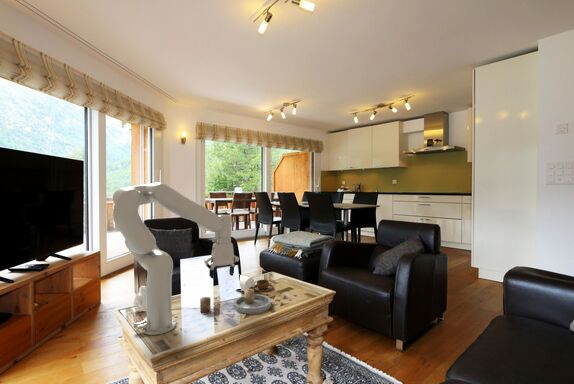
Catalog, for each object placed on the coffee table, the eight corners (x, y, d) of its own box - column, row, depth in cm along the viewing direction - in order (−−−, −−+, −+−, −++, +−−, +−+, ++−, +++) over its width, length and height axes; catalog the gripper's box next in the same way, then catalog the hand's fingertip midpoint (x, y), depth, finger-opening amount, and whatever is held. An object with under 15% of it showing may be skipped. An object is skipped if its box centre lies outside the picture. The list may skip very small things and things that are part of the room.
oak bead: (247, 305, 141) (247, 292, 141) (243, 302, 145) (242, 289, 145) (255, 302, 144) (255, 290, 144) (251, 300, 148) (251, 288, 148)
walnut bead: (202, 314, 132) (202, 301, 132) (199, 311, 136) (198, 298, 136) (212, 312, 135) (211, 299, 135) (208, 308, 139) (208, 296, 139)
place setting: (280, 291, 163) (280, 280, 163) (251, 300, 150) (251, 289, 150) (262, 284, 177) (262, 274, 176) (233, 291, 163) (233, 281, 163)
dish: (243, 317, 129) (243, 311, 129) (227, 304, 144) (227, 299, 144) (277, 307, 139) (277, 302, 139) (259, 296, 154) (259, 292, 154)
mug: (244, 294, 158) (244, 279, 158) (232, 290, 164) (232, 276, 164) (259, 288, 167) (259, 274, 167) (247, 285, 173) (247, 271, 173)
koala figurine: (152, 311, 136) (152, 285, 136) (136, 315, 132) (136, 288, 132) (148, 305, 143) (147, 281, 143) (132, 309, 139) (132, 284, 139)
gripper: (207, 242, 131) (206, 280, 130) (242, 240, 140) (241, 276, 140) (202, 240, 137) (201, 277, 137) (236, 238, 147) (235, 272, 146)
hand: (221, 276), depth 138 cm, fingers open, 9 cm apart
